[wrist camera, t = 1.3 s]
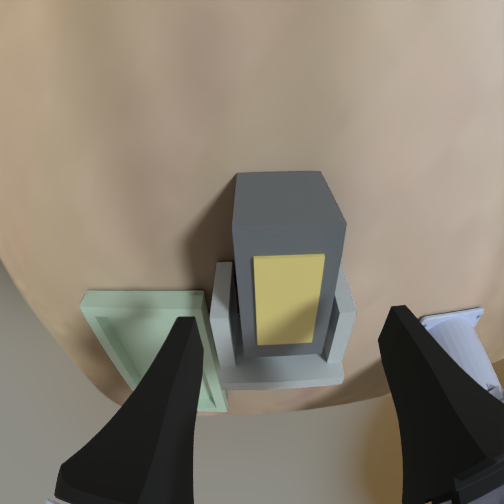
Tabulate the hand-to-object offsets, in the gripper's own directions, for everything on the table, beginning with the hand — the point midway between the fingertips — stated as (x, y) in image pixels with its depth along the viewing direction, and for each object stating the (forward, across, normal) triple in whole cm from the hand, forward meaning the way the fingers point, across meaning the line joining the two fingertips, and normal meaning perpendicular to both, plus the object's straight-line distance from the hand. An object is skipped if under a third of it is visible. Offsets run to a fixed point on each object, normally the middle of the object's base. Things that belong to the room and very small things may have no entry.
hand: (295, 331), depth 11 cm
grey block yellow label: (+9, 0, +2) cm, 9 cm away
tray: (+9, +10, +14) cm, 20 cm away
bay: (+9, 0, +6) cm, 11 cm away
